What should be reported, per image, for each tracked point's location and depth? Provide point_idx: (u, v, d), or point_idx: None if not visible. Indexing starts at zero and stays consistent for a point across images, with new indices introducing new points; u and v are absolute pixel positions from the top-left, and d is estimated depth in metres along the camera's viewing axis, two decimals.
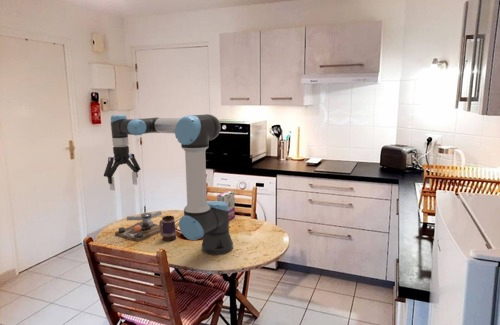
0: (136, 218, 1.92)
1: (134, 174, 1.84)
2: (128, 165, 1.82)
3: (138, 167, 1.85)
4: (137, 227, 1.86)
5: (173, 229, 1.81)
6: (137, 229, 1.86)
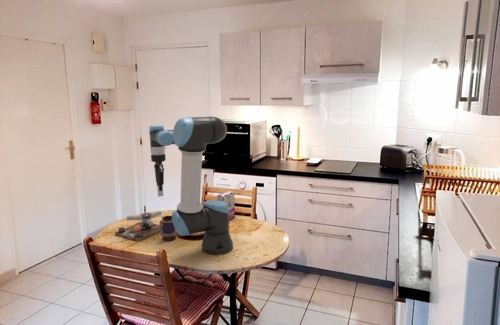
0: (136, 218, 1.92)
1: None
2: None
3: (158, 181, 1.89)
4: (137, 227, 1.86)
5: (173, 229, 1.81)
6: (137, 229, 1.86)
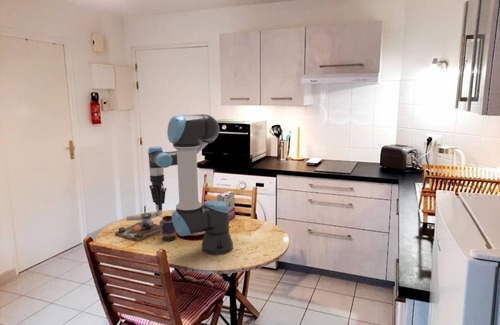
0: (136, 218, 1.92)
1: None
2: None
3: (160, 201, 1.94)
4: (137, 227, 1.86)
5: (173, 229, 1.81)
6: (137, 229, 1.86)
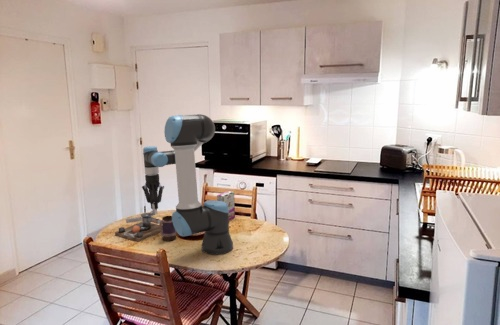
0: (136, 219, 1.90)
1: None
2: None
3: (157, 200, 1.97)
4: (135, 228, 1.85)
5: (173, 229, 1.81)
6: (135, 230, 1.85)
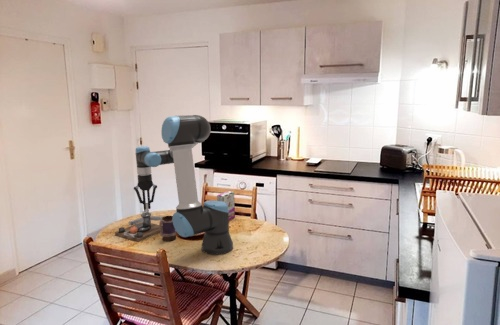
0: (139, 220, 1.88)
1: None
2: (147, 193, 1.99)
3: (152, 199, 1.99)
4: (133, 229, 1.84)
5: (173, 229, 1.81)
6: (133, 231, 1.84)
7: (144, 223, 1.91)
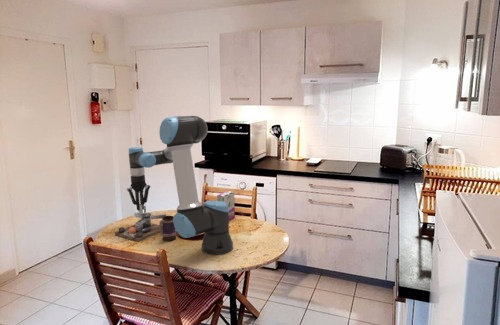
0: (143, 221, 1.87)
1: None
2: None
3: (145, 199, 1.99)
4: (132, 229, 1.83)
5: (173, 229, 1.81)
6: (132, 231, 1.83)
7: (146, 223, 1.91)
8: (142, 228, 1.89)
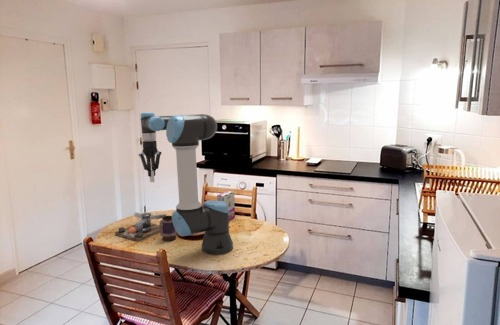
0: (143, 221, 1.87)
1: None
2: (151, 160, 1.98)
3: (157, 165, 1.99)
4: (132, 229, 1.83)
5: (173, 229, 1.81)
6: (132, 231, 1.83)
7: (146, 223, 1.91)
8: (142, 228, 1.89)
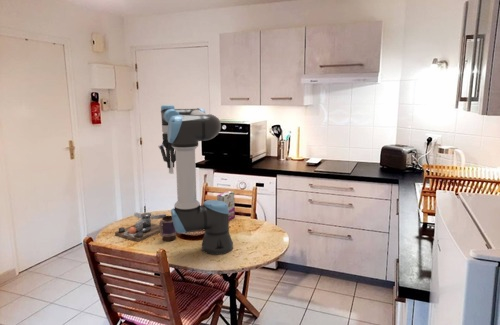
0: (143, 221, 1.87)
1: None
2: (170, 152, 2.02)
3: (176, 157, 2.03)
4: (132, 229, 1.83)
5: (173, 229, 1.81)
6: (132, 231, 1.83)
7: (146, 223, 1.91)
8: (142, 228, 1.89)
